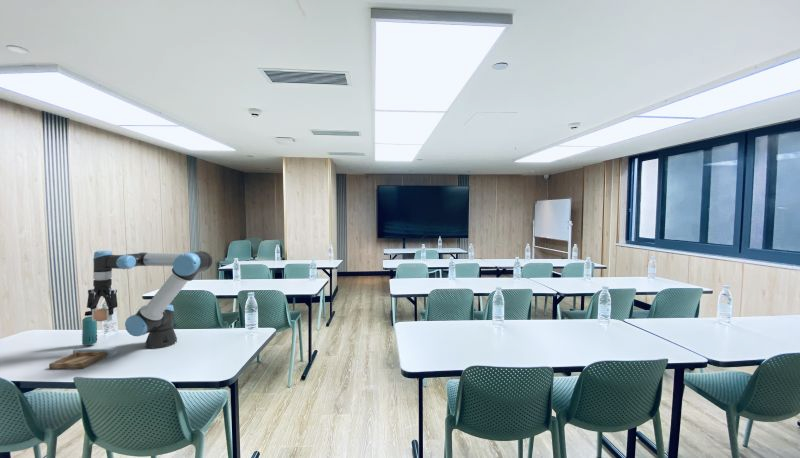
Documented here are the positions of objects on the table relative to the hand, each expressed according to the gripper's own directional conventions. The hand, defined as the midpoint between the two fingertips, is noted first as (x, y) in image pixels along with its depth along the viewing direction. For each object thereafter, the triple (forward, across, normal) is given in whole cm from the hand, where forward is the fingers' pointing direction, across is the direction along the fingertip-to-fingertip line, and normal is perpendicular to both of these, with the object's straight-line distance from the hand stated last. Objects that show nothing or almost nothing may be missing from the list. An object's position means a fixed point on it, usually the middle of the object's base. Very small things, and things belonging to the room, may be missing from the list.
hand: (102, 320), depth 182 cm
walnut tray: (+17, -1, +14) cm, 22 cm away
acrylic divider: (+17, -1, +6) cm, 18 cm away
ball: (0, 0, 0) cm, 0 cm away
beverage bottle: (+18, +14, -9) cm, 24 cm away
